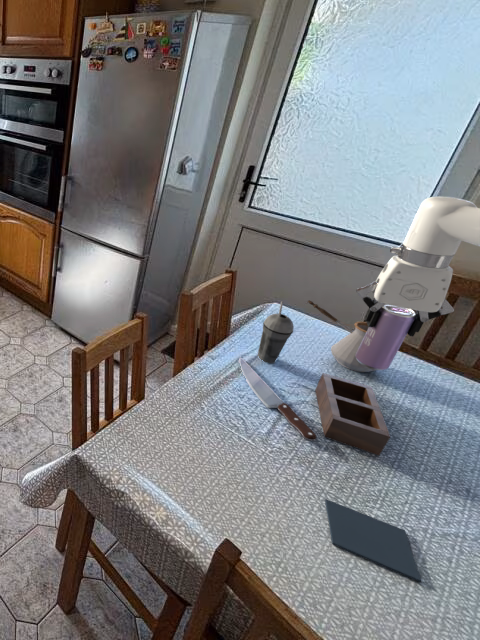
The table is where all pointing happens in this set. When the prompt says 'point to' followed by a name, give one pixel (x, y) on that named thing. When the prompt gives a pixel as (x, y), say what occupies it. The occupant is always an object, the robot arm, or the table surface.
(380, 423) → the box
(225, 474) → the table surface
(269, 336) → the beverage cup
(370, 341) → the beverage can
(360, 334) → the coffee pot
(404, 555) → the mat
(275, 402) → the steak knife
